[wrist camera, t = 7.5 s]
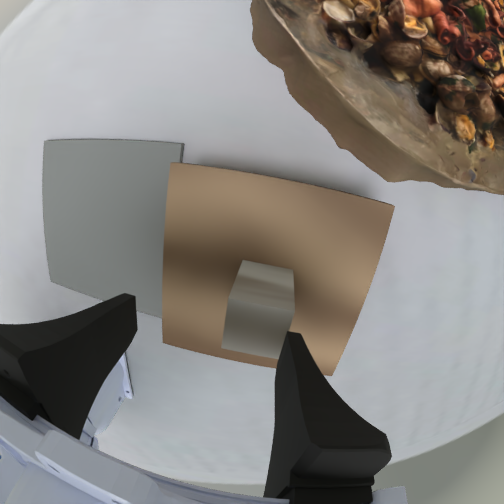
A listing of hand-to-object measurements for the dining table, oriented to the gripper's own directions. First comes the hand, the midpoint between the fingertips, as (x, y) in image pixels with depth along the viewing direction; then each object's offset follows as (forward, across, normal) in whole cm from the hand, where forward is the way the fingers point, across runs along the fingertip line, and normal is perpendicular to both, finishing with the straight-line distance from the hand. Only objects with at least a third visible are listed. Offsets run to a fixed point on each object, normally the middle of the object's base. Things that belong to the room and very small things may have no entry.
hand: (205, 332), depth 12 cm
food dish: (+10, -13, -25) cm, 30 cm away
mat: (+10, +13, 0) cm, 16 cm away
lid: (+6, -2, 0) cm, 6 cm away
